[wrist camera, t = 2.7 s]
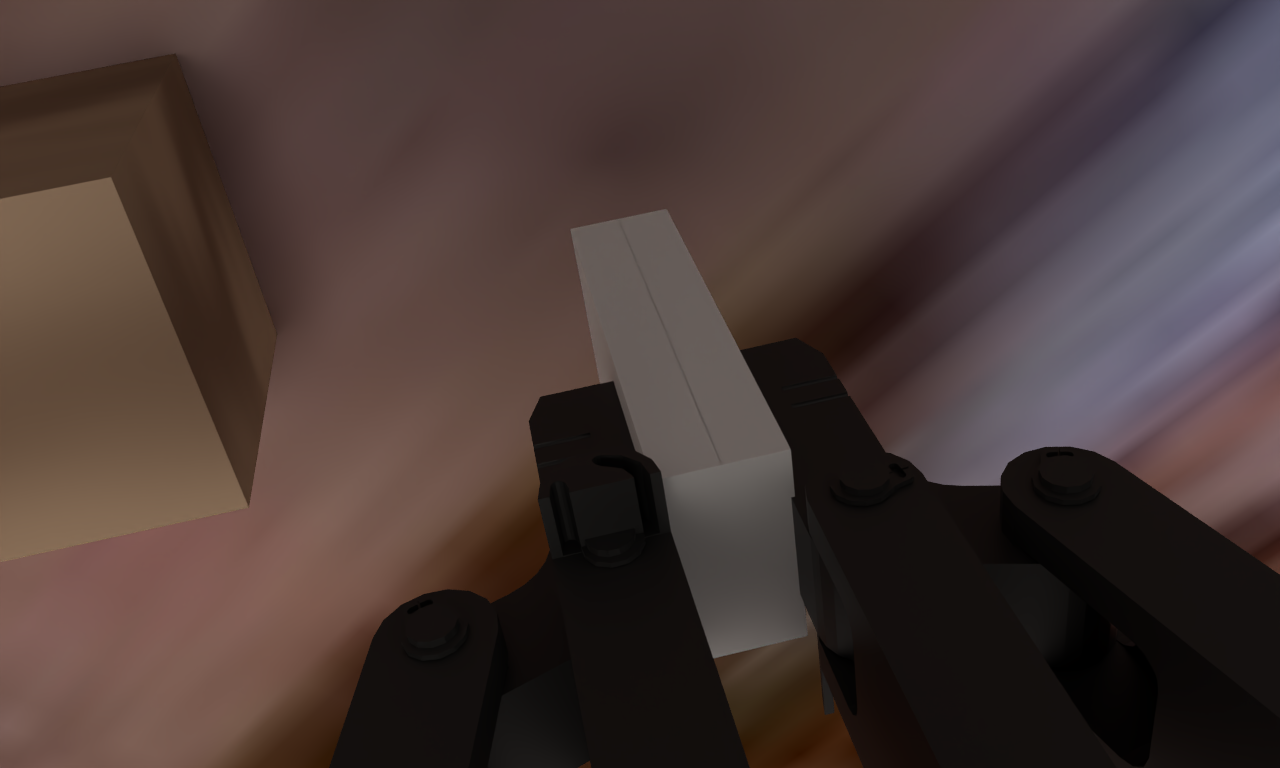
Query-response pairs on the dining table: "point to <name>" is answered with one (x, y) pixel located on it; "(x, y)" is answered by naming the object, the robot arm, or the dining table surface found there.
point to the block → (121, 314)
